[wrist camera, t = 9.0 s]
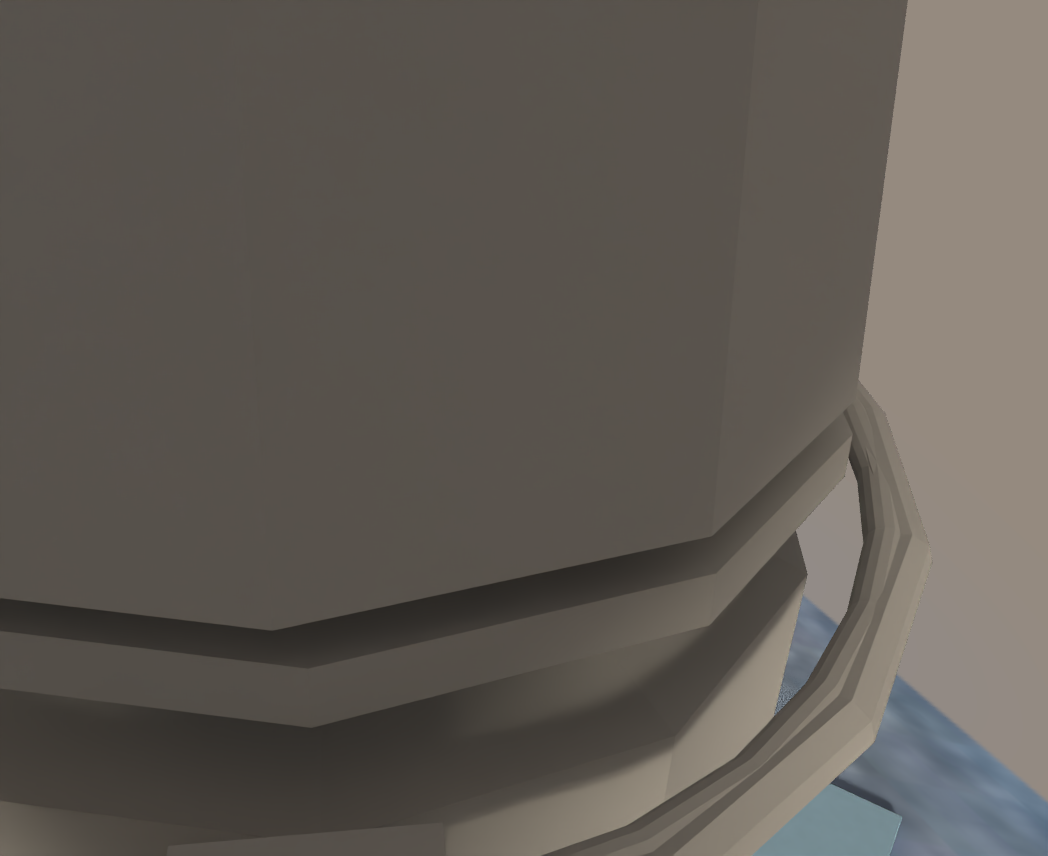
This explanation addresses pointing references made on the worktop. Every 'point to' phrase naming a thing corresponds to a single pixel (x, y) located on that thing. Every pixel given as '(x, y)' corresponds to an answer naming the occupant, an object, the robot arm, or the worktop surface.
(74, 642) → the water bottle
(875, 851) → the blue mat
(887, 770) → the worktop surface
